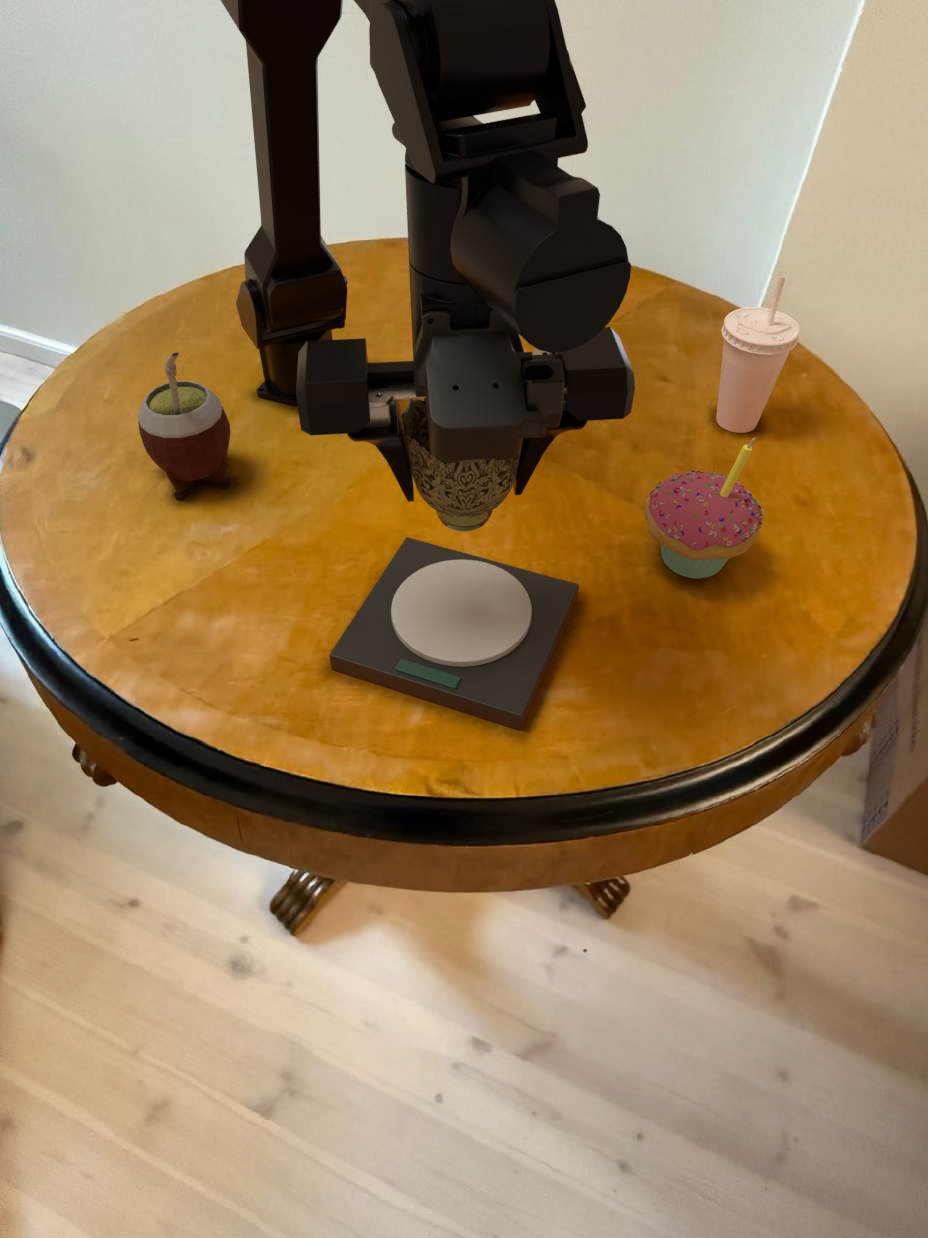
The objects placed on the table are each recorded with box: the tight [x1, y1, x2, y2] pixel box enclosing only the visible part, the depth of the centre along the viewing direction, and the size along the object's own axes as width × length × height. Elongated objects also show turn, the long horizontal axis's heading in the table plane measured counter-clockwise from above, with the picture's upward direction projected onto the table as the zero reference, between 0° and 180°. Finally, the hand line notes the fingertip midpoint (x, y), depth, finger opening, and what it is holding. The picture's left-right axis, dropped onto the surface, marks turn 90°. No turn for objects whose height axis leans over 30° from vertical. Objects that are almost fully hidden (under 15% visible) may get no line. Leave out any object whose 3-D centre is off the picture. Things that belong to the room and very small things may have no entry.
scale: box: [328, 536, 580, 731], centre depth 64 cm, size 14×13×2 cm
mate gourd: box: [137, 351, 232, 501], centre depth 71 cm, size 8×8×15 cm
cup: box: [401, 398, 523, 533], centre depth 56 cm, size 8×7×8 cm
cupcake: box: [644, 437, 765, 580], centre depth 66 cm, size 9×8×12 cm
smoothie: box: [715, 274, 801, 434], centre depth 78 cm, size 6×6×14 cm
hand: (463, 494), depth 58 cm, fingers closed on cup, 6 cm apart
